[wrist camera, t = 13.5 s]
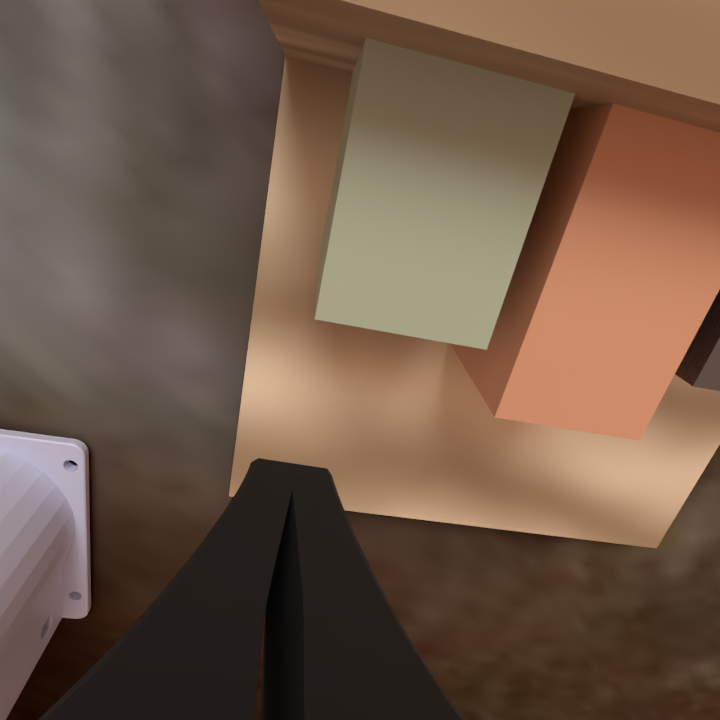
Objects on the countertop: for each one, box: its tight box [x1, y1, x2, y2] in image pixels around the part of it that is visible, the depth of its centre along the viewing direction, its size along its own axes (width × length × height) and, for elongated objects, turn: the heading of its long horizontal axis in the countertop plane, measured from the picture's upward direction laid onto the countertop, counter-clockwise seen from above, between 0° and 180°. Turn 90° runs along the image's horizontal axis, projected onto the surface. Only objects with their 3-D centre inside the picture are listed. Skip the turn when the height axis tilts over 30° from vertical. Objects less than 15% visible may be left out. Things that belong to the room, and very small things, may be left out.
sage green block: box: [315, 38, 575, 350], centre depth 12 cm, size 5×4×5 cm
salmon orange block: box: [450, 104, 720, 441], centre depth 13 cm, size 7×4×5 cm, turn 168°
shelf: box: [229, 0, 720, 548], centre depth 14 cm, size 16×18×8 cm
